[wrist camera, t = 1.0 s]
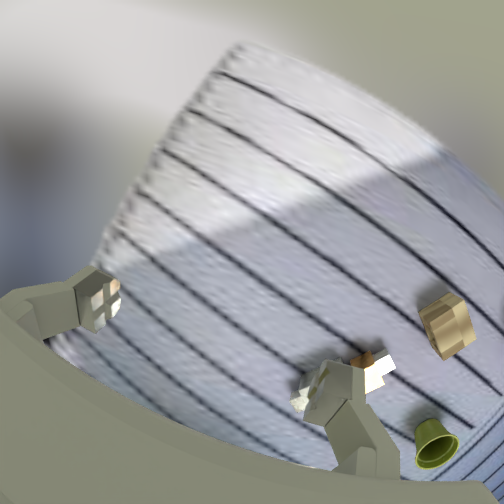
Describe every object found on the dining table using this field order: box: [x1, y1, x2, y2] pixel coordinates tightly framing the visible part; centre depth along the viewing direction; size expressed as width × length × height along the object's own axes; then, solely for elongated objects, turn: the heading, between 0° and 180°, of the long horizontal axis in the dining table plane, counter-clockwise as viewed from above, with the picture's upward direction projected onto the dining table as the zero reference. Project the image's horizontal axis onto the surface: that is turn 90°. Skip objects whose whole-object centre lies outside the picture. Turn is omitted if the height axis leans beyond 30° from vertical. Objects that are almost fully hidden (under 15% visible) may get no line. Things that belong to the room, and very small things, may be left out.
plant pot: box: [414, 419, 459, 470], centre depth 43 cm, size 9×9×9 cm
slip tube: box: [289, 348, 395, 413], centre depth 47 cm, size 4×19×6 cm, turn 120°
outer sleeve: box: [298, 357, 344, 404], centre depth 48 cm, size 7×8×6 cm
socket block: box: [418, 292, 476, 361], centre depth 42 cm, size 8×7×6 cm
